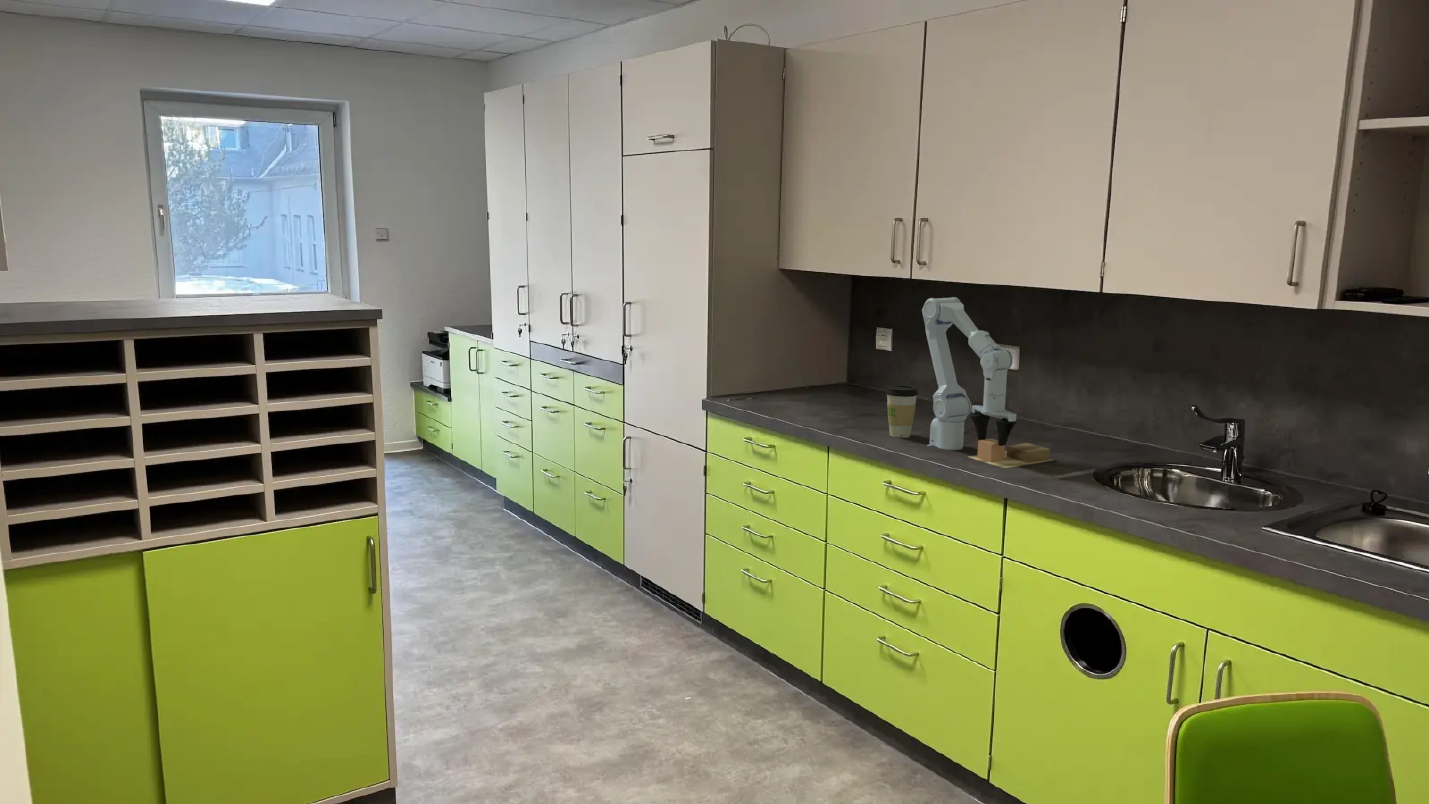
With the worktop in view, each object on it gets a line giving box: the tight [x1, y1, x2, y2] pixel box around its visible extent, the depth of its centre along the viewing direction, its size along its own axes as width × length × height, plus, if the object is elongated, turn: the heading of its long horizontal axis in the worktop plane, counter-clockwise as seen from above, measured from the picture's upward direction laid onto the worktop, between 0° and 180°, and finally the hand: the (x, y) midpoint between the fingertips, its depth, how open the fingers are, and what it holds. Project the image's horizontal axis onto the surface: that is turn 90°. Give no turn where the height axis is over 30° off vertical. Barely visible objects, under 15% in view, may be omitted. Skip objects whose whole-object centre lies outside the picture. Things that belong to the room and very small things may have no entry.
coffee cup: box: [885, 384, 919, 439], centre depth 292 cm, size 10×10×15 cm
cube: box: [976, 438, 1006, 462], centre depth 261 cm, size 5×5×5 cm
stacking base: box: [967, 442, 1054, 469], centre depth 262 cm, size 14×19×4 cm
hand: (991, 442), depth 261 cm, fingers open, 7 cm apart
